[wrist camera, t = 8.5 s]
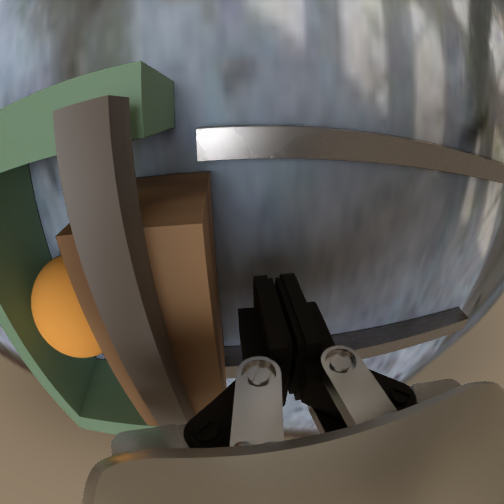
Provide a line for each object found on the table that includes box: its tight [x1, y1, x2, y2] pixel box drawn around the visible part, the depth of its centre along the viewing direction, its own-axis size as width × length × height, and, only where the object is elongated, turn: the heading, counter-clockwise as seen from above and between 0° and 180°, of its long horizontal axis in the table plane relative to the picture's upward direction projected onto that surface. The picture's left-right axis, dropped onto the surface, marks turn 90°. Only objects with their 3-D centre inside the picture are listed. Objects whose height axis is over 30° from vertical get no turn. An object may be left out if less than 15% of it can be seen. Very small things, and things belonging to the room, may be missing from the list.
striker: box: [53, 95, 226, 426], centre depth 10 cm, size 4×16×7 cm, turn 0°
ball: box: [31, 255, 103, 358], centre depth 11 cm, size 5×5×5 cm
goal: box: [0, 61, 175, 434], centre depth 11 cm, size 9×18×5 cm, turn 0°
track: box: [196, 125, 504, 378], centre depth 14 cm, size 20×14×2 cm
